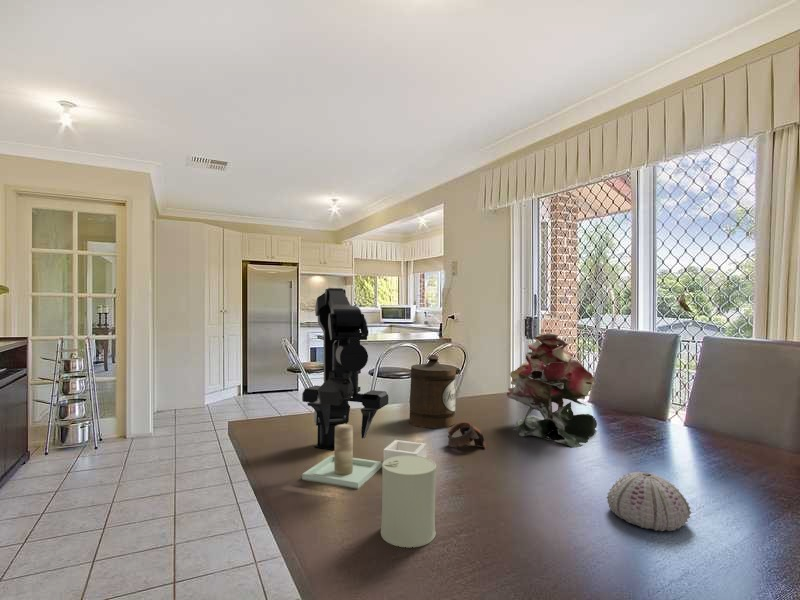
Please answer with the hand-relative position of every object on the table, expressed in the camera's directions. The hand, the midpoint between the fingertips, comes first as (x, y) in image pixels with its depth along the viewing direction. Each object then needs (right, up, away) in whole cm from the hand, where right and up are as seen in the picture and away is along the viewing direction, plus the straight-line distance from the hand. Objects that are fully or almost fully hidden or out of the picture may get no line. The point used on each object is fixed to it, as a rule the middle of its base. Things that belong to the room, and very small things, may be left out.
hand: (344, 435), depth 99 cm
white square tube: (+14, -9, +6) cm, 17 cm away
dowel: (0, -8, 0) cm, 8 cm away
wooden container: (+23, -10, +47) cm, 53 cm away
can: (+14, -9, -24) cm, 29 cm away
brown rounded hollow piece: (+30, -10, +21) cm, 38 cm away
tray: (0, -9, 0) cm, 9 cm away
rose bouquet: (+58, -11, +40) cm, 71 cm away
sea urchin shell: (+57, -10, -17) cm, 61 cm away
